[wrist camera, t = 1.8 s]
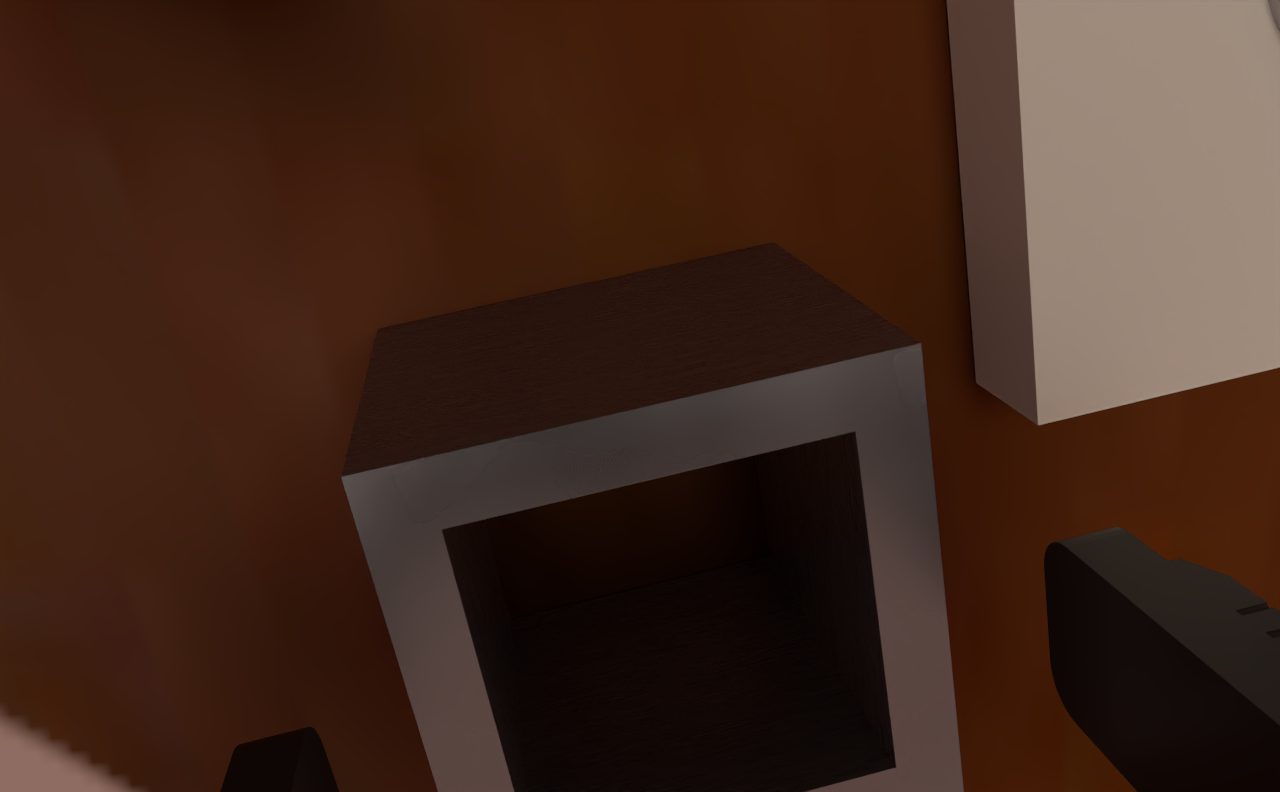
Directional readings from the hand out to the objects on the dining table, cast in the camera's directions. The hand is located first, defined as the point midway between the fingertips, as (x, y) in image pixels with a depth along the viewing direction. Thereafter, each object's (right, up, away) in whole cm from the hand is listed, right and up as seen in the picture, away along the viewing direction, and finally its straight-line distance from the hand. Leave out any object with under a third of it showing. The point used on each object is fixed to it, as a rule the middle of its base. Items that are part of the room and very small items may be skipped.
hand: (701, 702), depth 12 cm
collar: (-1, +2, +5) cm, 6 cm away
